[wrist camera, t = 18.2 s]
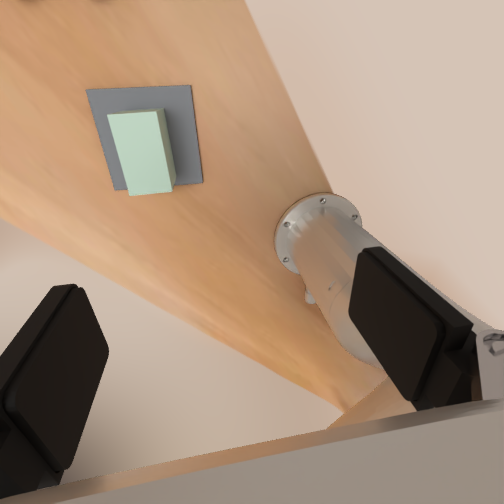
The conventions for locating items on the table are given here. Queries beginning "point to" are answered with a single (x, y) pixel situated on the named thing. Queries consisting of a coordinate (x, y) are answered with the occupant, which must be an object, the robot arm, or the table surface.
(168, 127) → the pad
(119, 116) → the block
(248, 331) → the table surface
